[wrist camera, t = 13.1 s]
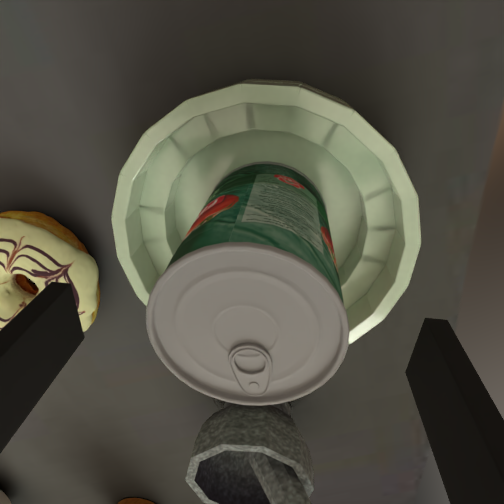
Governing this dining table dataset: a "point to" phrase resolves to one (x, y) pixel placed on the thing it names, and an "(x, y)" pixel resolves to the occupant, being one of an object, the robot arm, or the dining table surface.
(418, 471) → the dining table surface
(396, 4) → the dining table surface
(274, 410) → the mortar and pestle
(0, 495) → the decorative ball
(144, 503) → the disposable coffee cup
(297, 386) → the canned tomato
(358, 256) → the bowl
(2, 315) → the decorated donut
